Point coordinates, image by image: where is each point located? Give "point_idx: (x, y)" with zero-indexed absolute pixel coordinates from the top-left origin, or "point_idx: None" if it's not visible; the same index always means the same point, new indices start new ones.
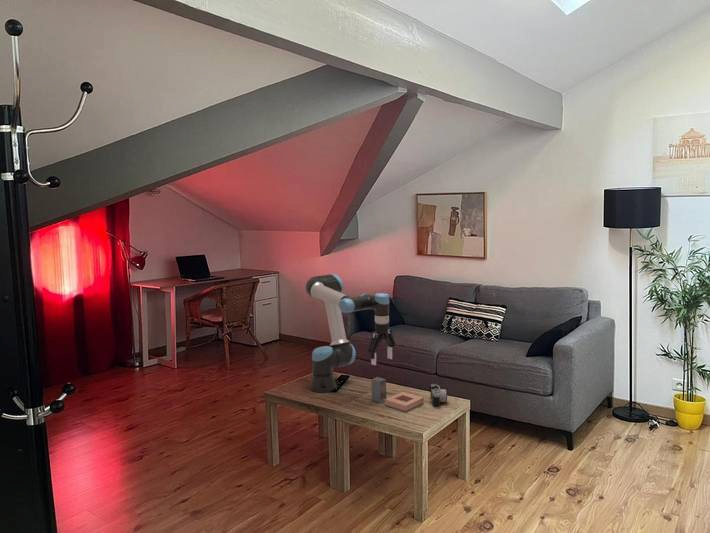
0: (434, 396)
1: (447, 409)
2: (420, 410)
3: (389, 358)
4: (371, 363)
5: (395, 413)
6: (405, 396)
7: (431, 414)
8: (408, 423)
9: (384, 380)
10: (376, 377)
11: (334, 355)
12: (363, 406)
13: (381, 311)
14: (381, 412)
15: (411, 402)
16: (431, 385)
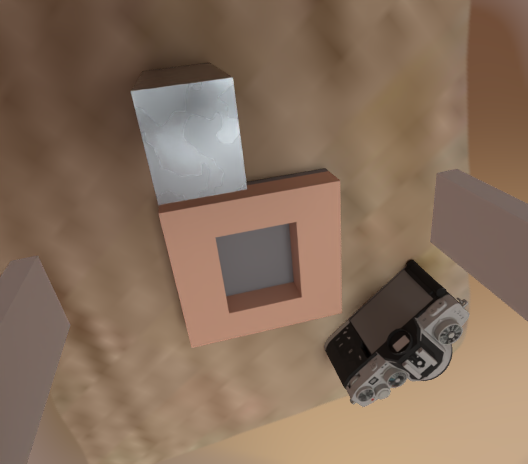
0: (347, 387)
1: None
2: (260, 338)
3: (435, 212)
4: (8, 272)
5: (137, 308)
6: (296, 242)
7: (261, 386)
8: (113, 411)
9: (223, 191)
10: (210, 85)
11: None
12: (25, 118)
13: None
14: (77, 261)
15: (247, 329)
16: (419, 351)
